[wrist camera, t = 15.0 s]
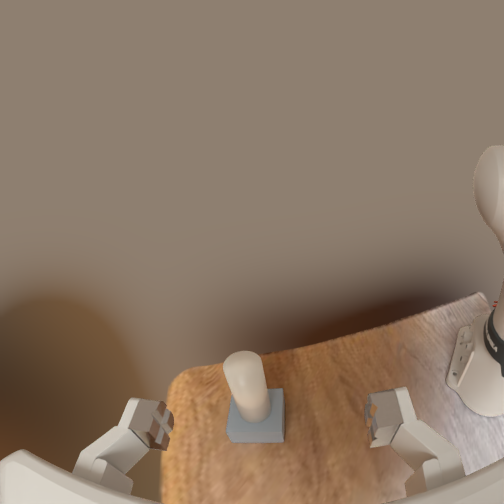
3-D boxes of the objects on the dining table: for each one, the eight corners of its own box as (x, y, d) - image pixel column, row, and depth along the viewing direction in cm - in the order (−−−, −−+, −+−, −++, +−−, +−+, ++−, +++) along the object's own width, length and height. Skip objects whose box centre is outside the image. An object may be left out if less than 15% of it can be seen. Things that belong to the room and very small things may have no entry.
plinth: (237, 402, 44) (232, 389, 43) (284, 401, 43) (282, 388, 42) (231, 442, 37) (225, 431, 36) (284, 442, 36) (281, 431, 34)
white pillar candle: (249, 393, 42) (236, 346, 37) (276, 403, 39) (268, 356, 34) (233, 416, 38) (215, 372, 33) (261, 427, 36) (249, 384, 31)
